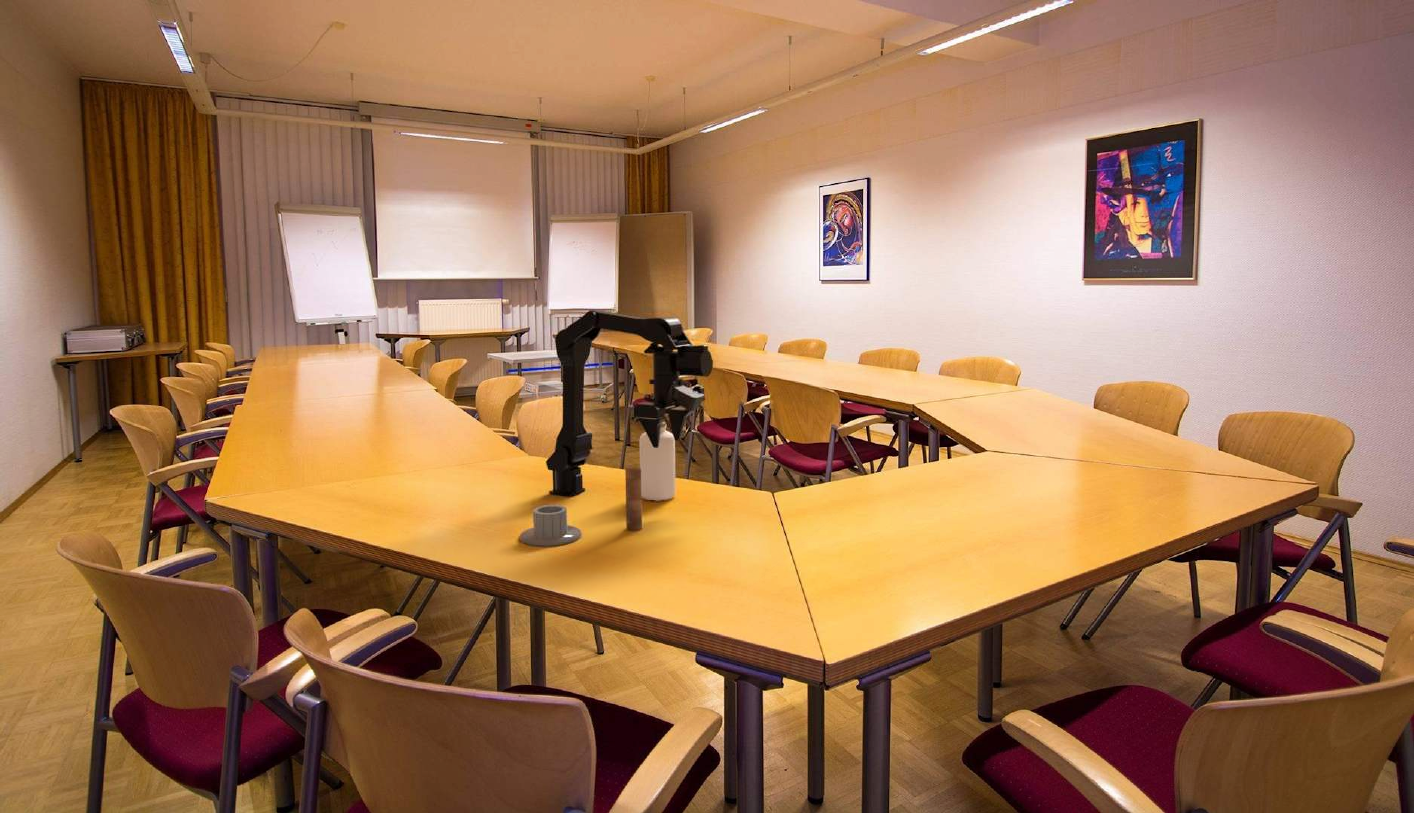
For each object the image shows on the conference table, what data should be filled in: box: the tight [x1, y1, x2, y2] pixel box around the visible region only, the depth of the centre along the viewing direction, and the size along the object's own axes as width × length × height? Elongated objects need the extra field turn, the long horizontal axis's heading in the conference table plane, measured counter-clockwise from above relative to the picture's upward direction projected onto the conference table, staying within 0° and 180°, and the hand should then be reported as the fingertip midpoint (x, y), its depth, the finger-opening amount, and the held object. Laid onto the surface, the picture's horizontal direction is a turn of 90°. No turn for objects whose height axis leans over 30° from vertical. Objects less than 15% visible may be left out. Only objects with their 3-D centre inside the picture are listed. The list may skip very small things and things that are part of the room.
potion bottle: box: [638, 421, 676, 502], centre depth 182 cm, size 8×8×18 cm
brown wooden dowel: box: [624, 467, 643, 532], centre depth 159 cm, size 3×3×12 cm
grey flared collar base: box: [519, 504, 582, 548], centre depth 154 cm, size 12×12×6 cm
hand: (666, 443), depth 173 cm, fingers open, 9 cm apart
